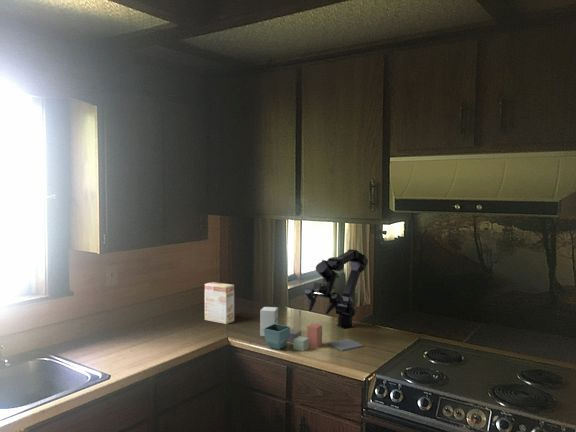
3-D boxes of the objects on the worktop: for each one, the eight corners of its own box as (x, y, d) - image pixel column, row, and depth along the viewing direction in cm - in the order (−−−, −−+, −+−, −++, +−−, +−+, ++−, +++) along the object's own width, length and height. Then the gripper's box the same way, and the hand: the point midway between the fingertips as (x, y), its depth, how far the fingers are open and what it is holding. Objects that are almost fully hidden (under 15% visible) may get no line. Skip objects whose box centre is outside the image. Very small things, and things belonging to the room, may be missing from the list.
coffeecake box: (234, 321, 262) (234, 284, 261) (226, 324, 256) (226, 287, 255) (213, 317, 270) (212, 281, 269) (204, 320, 264) (203, 283, 263)
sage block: (298, 346, 223) (298, 336, 223) (308, 348, 221) (308, 338, 221) (293, 349, 219) (293, 339, 219) (303, 351, 217) (303, 341, 216)
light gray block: (291, 339, 234) (291, 329, 233) (300, 340, 231) (300, 331, 231) (285, 341, 229) (285, 332, 229) (295, 343, 227) (295, 334, 226)
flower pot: (280, 352, 215) (280, 331, 215) (263, 348, 220) (263, 328, 219) (290, 346, 223) (290, 326, 222) (274, 342, 227) (274, 323, 227)
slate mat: (348, 339, 233) (348, 338, 233) (363, 346, 223) (363, 345, 223) (327, 343, 226) (327, 342, 226) (342, 350, 217) (342, 349, 217)
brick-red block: (312, 342, 228) (312, 323, 227) (321, 344, 225) (322, 325, 225) (306, 345, 224) (307, 326, 223) (316, 347, 221) (317, 327, 220)
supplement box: (274, 337, 235) (274, 311, 235) (259, 336, 237) (259, 310, 236) (278, 332, 243) (278, 307, 242) (263, 331, 244) (263, 306, 243)
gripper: (304, 272, 238) (293, 302, 232) (338, 277, 227) (327, 308, 221) (314, 282, 246) (304, 311, 239) (348, 287, 235) (338, 318, 228)
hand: (317, 312), depth 232 cm, fingers open, 9 cm apart
